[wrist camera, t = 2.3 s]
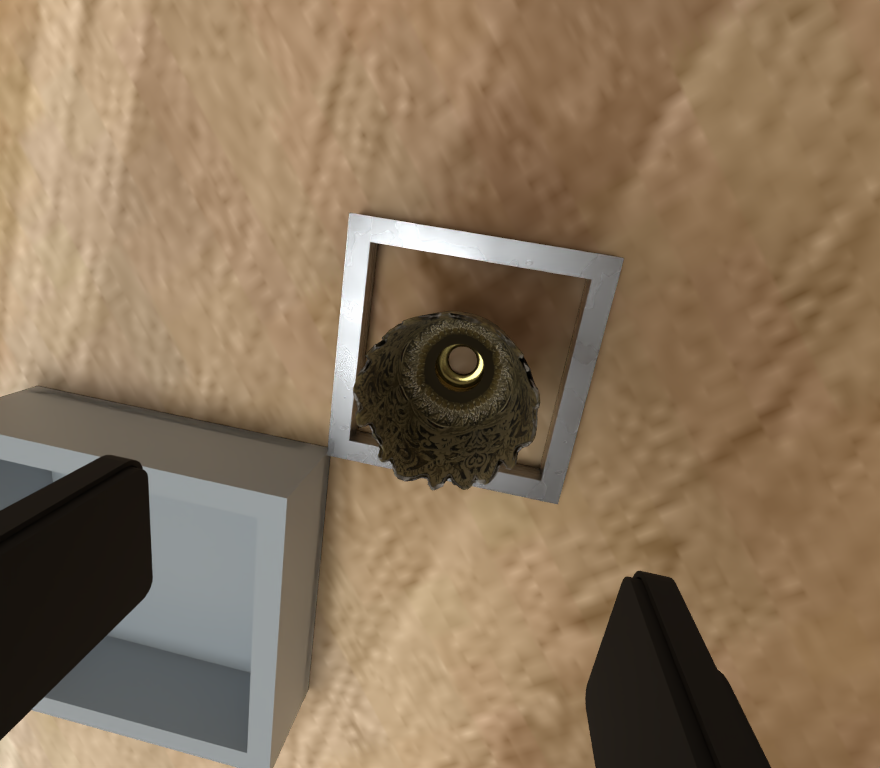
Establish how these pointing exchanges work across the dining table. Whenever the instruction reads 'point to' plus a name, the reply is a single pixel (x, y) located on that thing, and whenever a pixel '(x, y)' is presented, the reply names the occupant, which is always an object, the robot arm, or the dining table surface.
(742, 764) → the robot arm
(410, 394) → the dark bronze rounded piece
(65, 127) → the dining table surface
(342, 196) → the dining table surface
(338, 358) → the square metal frame
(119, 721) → the bin
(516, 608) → the dining table surface
